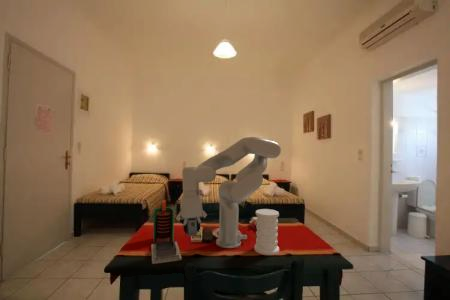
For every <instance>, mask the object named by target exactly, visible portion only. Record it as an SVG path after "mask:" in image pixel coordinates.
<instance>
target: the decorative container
mask: <svg viewBox="0 0 450 300" xmlns="http://www.w3.org/2000/svg"><path fill="white" fill-rule="evenodd" d="M255 216H256V217H257V219H256V221H257V225H255V229H256V231H255V236H257V237H256V238H255V241H256V242H255V245H254V247H253V248H254V251H255V252H256V253H257V254H260V255H262V256H263V255H264V256H274V255H277V254H278V253H280V247H279V246H278V243H279V242H278V236H279V234H278V230H279V227H278V223H279V220H278V217H280V213H279V211H277V210H275V209H270V208H261V209H257V210H255Z"/></svg>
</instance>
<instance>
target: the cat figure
mask: <svg viewBox="0 0 450 300" xmlns="http://www.w3.org/2000/svg"><path fill="white" fill-rule="evenodd" d="M257 217H258V216H252V218H251V220H250V221H249V224H250V225H251V226H250V227H252V228H253V229H255V226H256V225H257V221H256V219H257Z"/></svg>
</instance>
